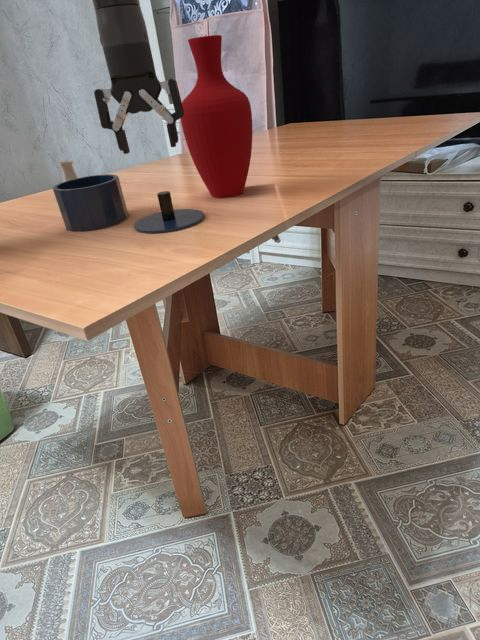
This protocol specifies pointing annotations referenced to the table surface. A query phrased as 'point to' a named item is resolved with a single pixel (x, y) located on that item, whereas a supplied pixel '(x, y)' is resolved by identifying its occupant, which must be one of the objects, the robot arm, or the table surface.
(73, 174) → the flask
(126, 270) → the table surface
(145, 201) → the table surface
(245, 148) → the vase
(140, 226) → the lid
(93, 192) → the pot
